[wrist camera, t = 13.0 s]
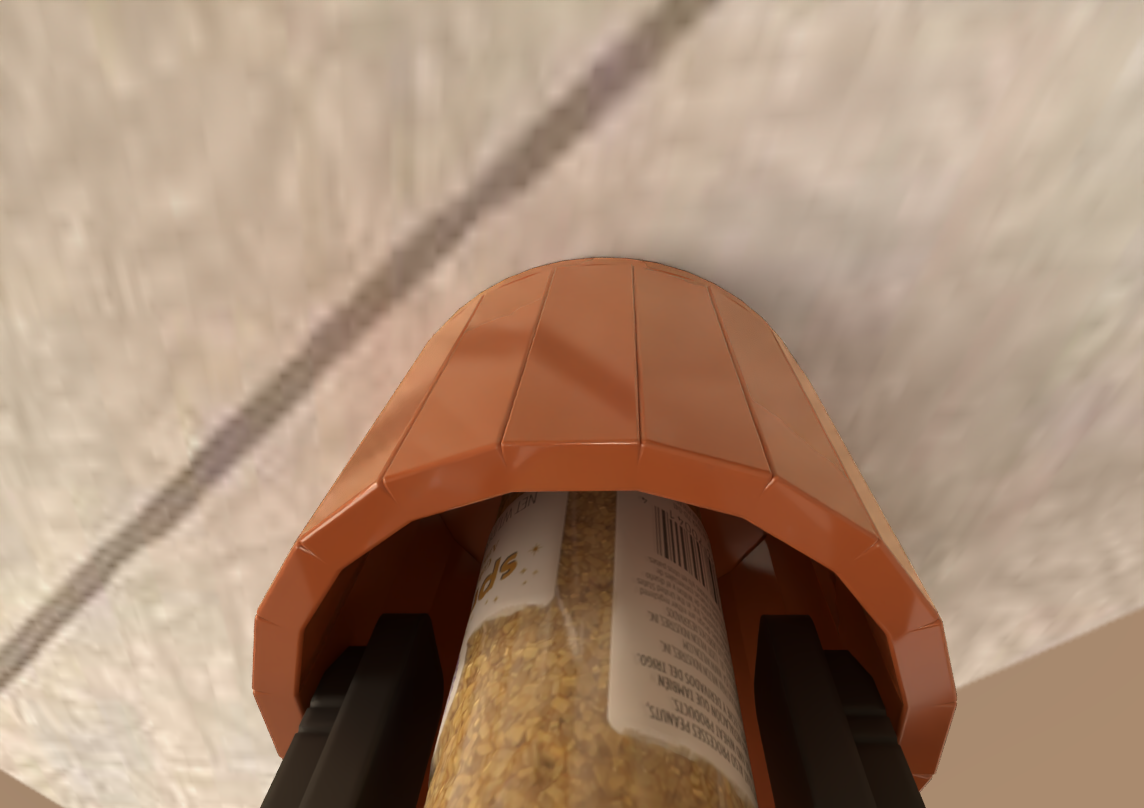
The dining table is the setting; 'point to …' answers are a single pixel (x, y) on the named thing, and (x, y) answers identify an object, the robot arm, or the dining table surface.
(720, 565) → the cup
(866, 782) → the robot arm
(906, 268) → the dining table surface
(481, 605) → the sprinkles bottle
